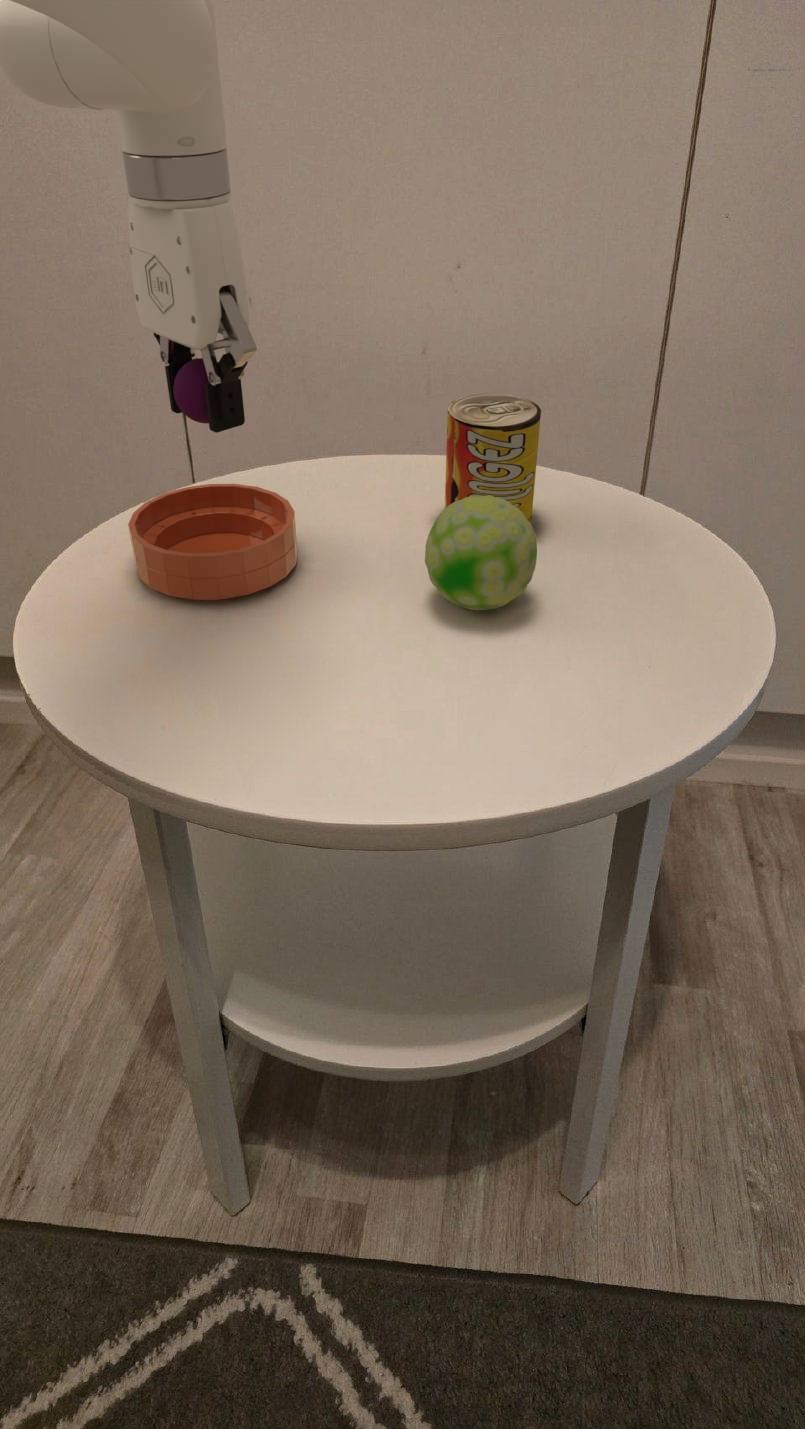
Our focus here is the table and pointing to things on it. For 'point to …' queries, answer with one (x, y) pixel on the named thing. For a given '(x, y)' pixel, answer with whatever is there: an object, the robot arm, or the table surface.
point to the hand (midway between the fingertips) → (207, 416)
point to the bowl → (214, 541)
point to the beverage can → (492, 449)
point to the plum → (192, 390)
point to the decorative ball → (481, 552)
